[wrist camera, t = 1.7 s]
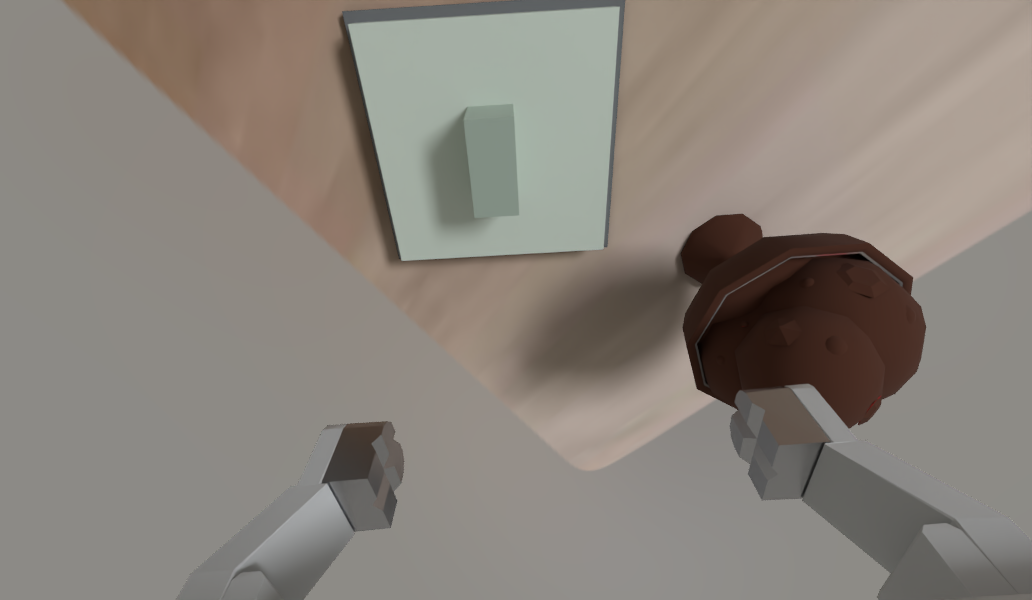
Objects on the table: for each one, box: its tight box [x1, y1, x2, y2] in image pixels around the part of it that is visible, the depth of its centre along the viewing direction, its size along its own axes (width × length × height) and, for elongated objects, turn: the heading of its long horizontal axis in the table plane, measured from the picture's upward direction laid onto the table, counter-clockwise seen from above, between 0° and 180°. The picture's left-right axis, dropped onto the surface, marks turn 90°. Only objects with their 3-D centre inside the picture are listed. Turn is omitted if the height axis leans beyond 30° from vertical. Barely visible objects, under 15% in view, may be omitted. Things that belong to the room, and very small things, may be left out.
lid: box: [348, 6, 620, 261], centre depth 24 cm, size 13×13×4 cm
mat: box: [342, 0, 625, 259], centre depth 26 cm, size 14×14×1 cm
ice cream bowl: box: [681, 214, 926, 428], centre depth 24 cm, size 11×11×15 cm
